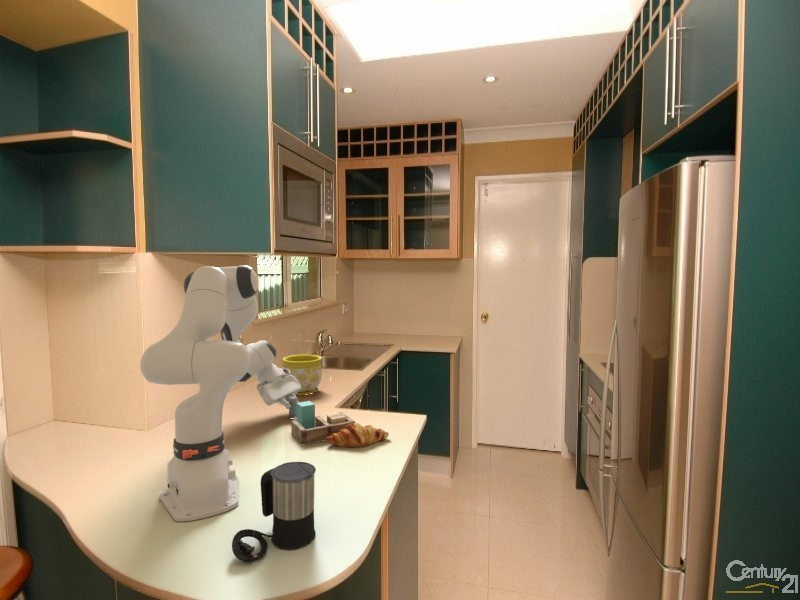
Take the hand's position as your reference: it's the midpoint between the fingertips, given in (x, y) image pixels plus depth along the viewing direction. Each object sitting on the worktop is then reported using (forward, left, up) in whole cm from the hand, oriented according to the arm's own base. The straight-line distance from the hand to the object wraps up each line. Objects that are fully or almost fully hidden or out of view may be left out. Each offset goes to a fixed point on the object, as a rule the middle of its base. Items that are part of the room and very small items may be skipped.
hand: (293, 405), depth 171 cm
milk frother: (-76, +28, -5) cm, 81 cm away
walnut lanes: (-22, -4, -5) cm, 22 cm away
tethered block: (-7, 0, -5) cm, 8 cm away
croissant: (-35, -11, -5) cm, 37 cm away
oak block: (-22, -8, -5) cm, 24 cm away
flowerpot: (+34, -15, -5) cm, 37 cm away
